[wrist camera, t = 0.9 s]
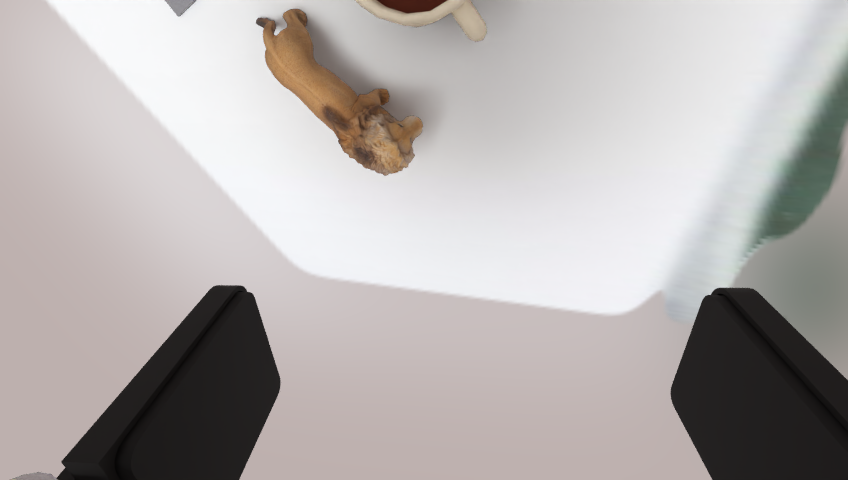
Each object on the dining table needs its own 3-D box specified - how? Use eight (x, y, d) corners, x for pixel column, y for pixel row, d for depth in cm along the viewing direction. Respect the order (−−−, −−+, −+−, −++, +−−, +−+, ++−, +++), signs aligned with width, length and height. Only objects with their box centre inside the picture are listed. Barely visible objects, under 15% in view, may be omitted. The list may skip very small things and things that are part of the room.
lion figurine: (438, 108, 33) (432, 139, 25) (402, 160, 36) (387, 203, 28) (273, -13, 30) (208, -20, 22) (246, 53, 32) (177, 68, 25)
